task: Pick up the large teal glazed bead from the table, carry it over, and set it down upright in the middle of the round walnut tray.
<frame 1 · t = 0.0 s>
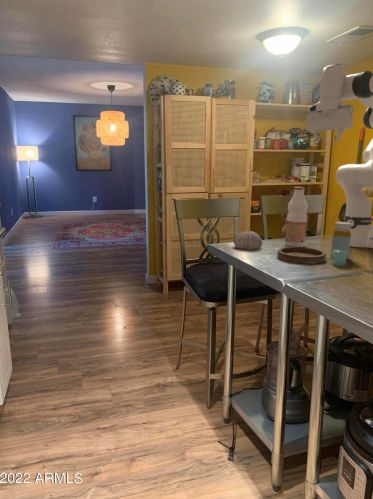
hand: (326, 141, 161), 48 cm above the table, tool pointing down, fingers open, 8 cm apart
bottle: (339, 258, 161), on the table
bead: (338, 264, 151), on the table
fruit juice: (294, 245, 185), on the table
sea urchin shell: (247, 248, 179), on the table
round tray: (300, 258, 160), on the table
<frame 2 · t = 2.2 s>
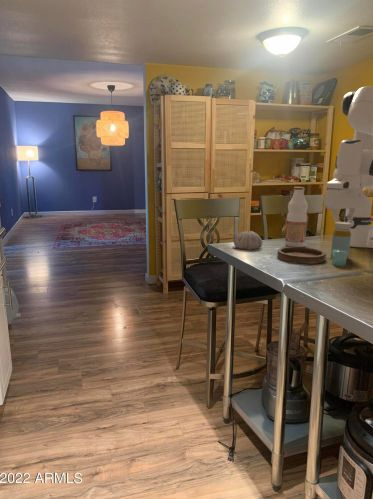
hand: (343, 220, 147), 18 cm above the table, tool pointing down, fingers open, 8 cm apart
nothing on the table moved.
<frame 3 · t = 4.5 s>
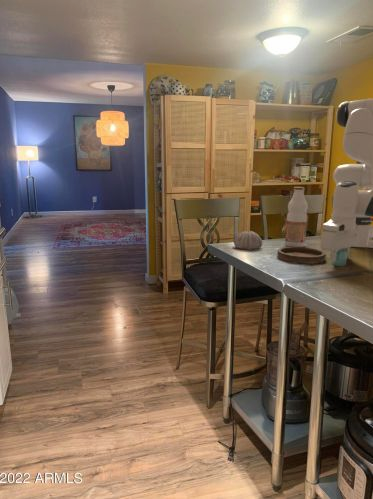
hand: (339, 259, 150), 2 cm above the table, tool pointing down, fingers closed on bead, 5 cm apart
bead: (338, 264, 151), on the table, touching gripper
everything else where it was.
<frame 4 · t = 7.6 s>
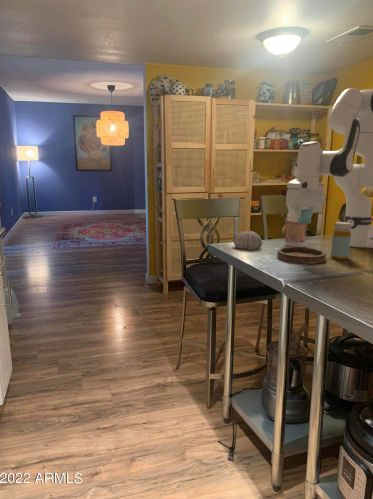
hand: (304, 217, 156), 17 cm above the table, tool pointing down, fingers closed on bead, 5 cm apart
bead: (303, 222, 157), point 15 cm above the table, touching gripper
everything else where it was.
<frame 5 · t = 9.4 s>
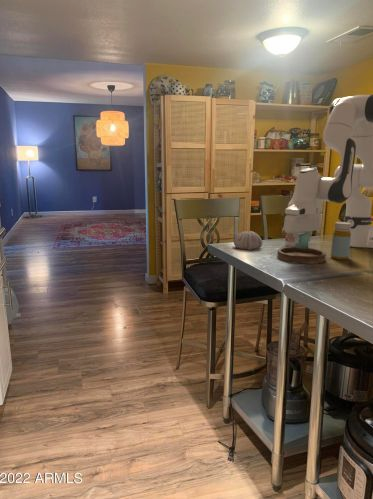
hand: (302, 242, 158), 7 cm above the table, tool pointing down, fingers closed on bead, 5 cm apart
bead: (301, 247, 159), point 5 cm above the table, touching gripper
everything else where it was.
when the fingers open (4 cm above the table, at t = 10.8 s): bead drops 1 cm, resting on round tray.
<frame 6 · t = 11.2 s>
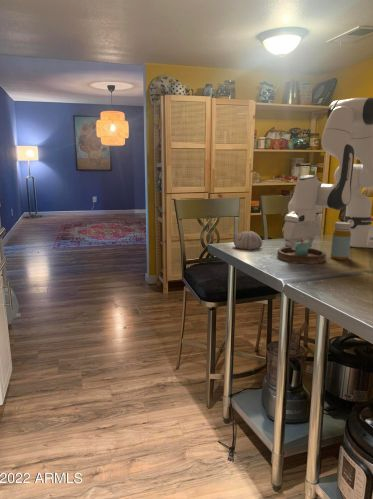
hand: (301, 248, 159), 4 cm above the table, tool pointing down, fingers open, 8 cm apart
bead: (301, 256, 160), point 1 cm above the table, touching round tray
everything else where it was.
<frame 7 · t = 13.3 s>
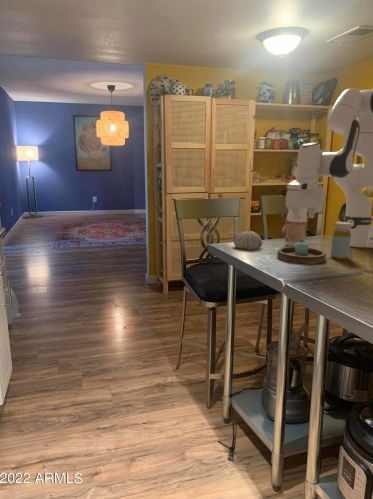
hand: (304, 218, 156), 17 cm above the table, tool pointing down, fingers open, 8 cm apart
nothing on the table moved.
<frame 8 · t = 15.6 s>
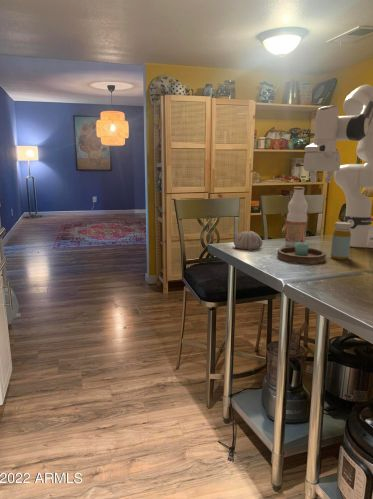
hand: (321, 182, 157), 31 cm above the table, tool pointing down, fingers open, 8 cm apart
nothing on the table moved.
at the end: bead inside the target area on the round tray (0.0 cm from its centre), point 0.8 cm above the round tray's base; bead tilted 0°; the gripper is holding nothing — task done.
